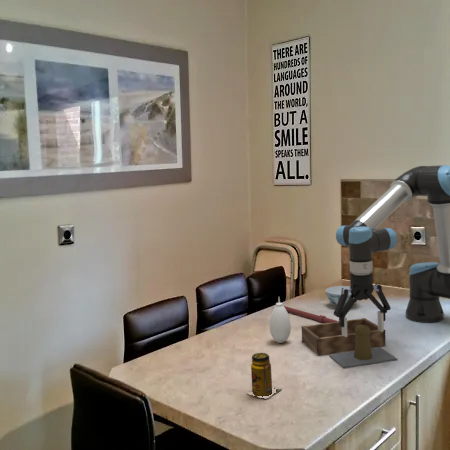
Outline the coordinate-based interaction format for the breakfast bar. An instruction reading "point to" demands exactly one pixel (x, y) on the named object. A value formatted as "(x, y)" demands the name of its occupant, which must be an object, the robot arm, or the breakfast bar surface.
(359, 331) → the olive dumbbell shape
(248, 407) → the breakfast bar surface
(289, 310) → the red rod with collar
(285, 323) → the white bulb air blower
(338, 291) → the chinaware
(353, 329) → the wooden box
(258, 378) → the condiment
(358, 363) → the charcoal mat
